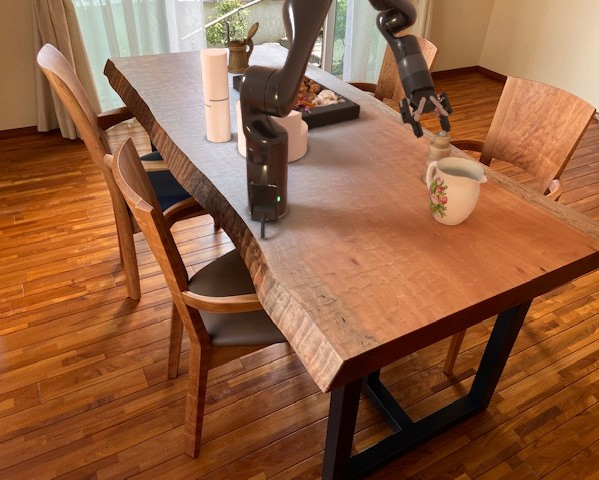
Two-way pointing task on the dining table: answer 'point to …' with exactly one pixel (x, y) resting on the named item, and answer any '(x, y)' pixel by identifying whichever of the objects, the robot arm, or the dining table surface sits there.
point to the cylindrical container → (216, 94)
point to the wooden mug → (241, 52)
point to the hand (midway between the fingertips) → (434, 134)
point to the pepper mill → (437, 151)
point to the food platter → (319, 104)
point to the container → (294, 128)
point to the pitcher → (454, 188)
